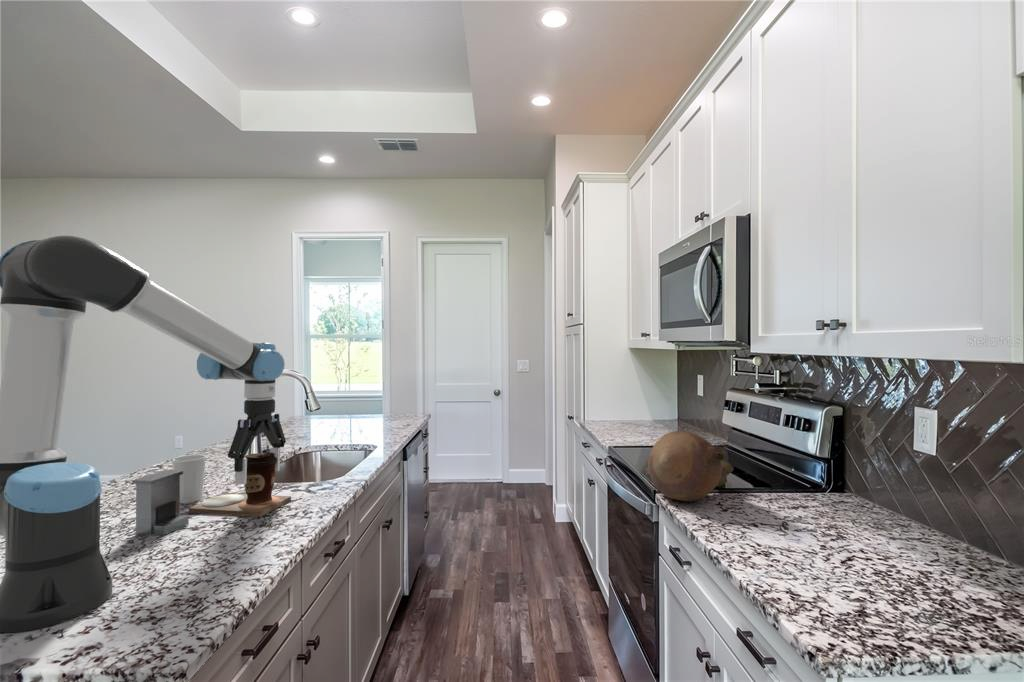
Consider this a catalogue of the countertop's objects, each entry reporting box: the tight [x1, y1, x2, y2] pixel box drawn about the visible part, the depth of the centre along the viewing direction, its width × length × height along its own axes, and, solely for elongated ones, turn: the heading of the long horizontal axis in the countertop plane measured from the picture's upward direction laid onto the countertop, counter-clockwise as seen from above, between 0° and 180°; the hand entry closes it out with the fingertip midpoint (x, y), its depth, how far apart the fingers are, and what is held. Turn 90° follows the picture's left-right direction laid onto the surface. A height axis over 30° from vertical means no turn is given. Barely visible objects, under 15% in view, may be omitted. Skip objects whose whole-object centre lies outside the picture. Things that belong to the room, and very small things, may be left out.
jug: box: [645, 430, 734, 502], centre depth 140 cm, size 20×20×30 cm
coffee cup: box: [243, 451, 277, 505], centre depth 130 cm, size 9×8×13 cm
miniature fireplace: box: [132, 469, 190, 536], centre depth 116 cm, size 9×8×13 cm
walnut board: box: [187, 492, 292, 518], centre depth 131 cm, size 13×21×2 cm, turn 81°
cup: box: [172, 454, 207, 504], centre depth 137 cm, size 8×8×12 cm
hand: (258, 476), depth 130 cm, fingers open, 13 cm apart
